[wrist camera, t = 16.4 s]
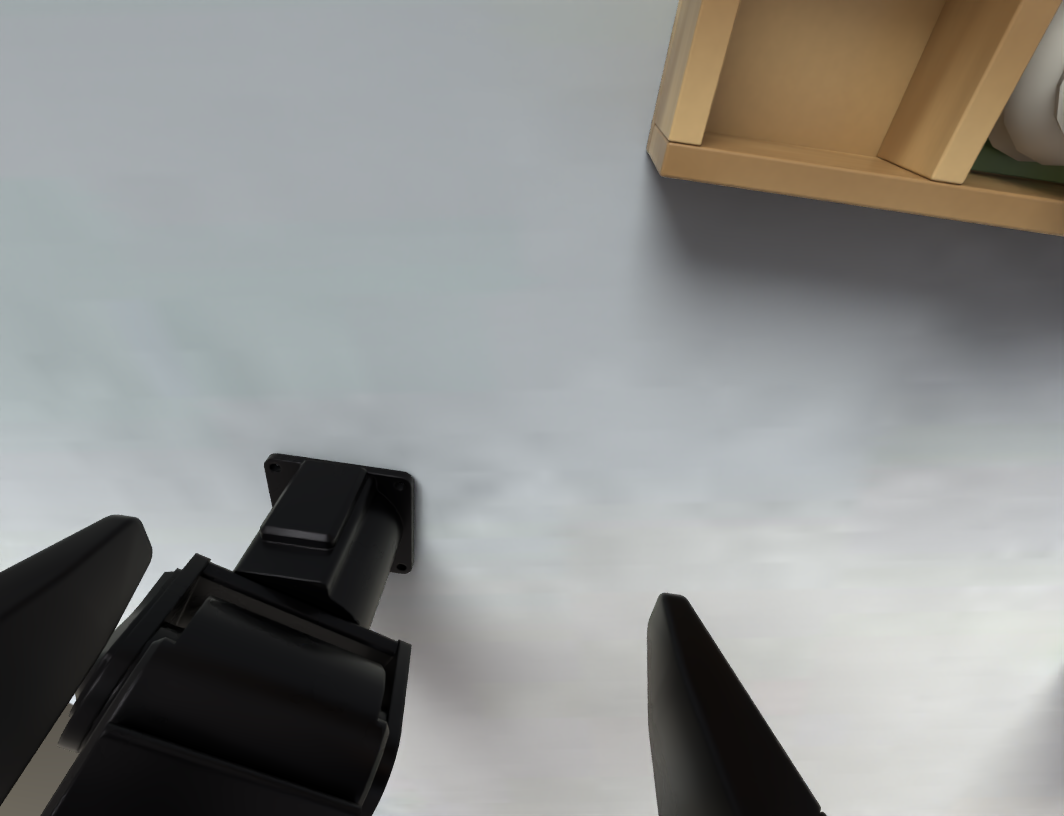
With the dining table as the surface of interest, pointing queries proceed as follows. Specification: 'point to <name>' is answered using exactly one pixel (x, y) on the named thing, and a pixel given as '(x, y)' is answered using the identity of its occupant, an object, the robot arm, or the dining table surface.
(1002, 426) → the dining table surface
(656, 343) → the dining table surface
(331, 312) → the dining table surface
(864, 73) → the rack
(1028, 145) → the rook chess piece
